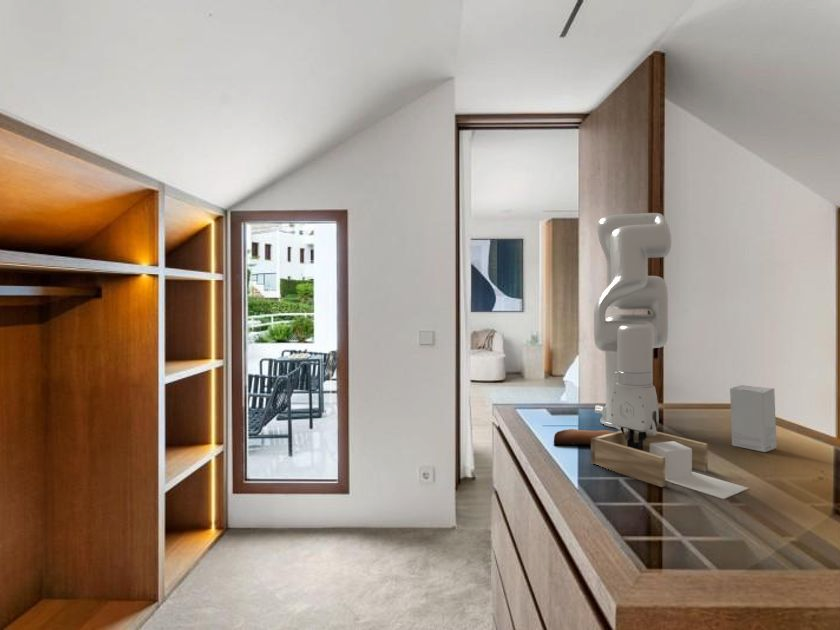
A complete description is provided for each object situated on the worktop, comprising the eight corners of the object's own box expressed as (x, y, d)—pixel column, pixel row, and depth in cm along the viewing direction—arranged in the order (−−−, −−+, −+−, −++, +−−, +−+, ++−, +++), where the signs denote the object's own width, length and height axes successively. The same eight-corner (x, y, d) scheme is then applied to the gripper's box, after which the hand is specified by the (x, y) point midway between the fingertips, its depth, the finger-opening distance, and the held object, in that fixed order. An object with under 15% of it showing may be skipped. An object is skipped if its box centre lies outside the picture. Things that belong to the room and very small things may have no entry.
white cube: (691, 476, 122) (692, 448, 121) (666, 479, 121) (666, 451, 120) (673, 467, 128) (673, 440, 127) (649, 470, 126) (649, 443, 126)
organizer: (661, 487, 117) (661, 458, 116) (591, 463, 132) (590, 438, 132) (707, 470, 126) (707, 443, 125) (636, 450, 141) (636, 426, 141)
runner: (611, 464, 132) (612, 463, 132) (637, 456, 136) (637, 455, 136) (723, 499, 110) (723, 498, 110) (748, 488, 115) (748, 487, 115)
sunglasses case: (624, 439, 150) (625, 421, 147) (626, 460, 145) (628, 441, 141) (553, 436, 155) (553, 419, 151) (553, 456, 149) (553, 438, 145)
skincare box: (776, 448, 139) (777, 388, 138) (764, 453, 136) (765, 391, 135) (741, 441, 146) (742, 383, 145) (728, 445, 143) (729, 386, 142)
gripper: (597, 376, 135) (597, 452, 136) (653, 385, 122) (653, 469, 123) (618, 372, 139) (618, 447, 140) (674, 381, 126) (674, 462, 127)
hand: (635, 457), depth 132 cm, fingers closed
